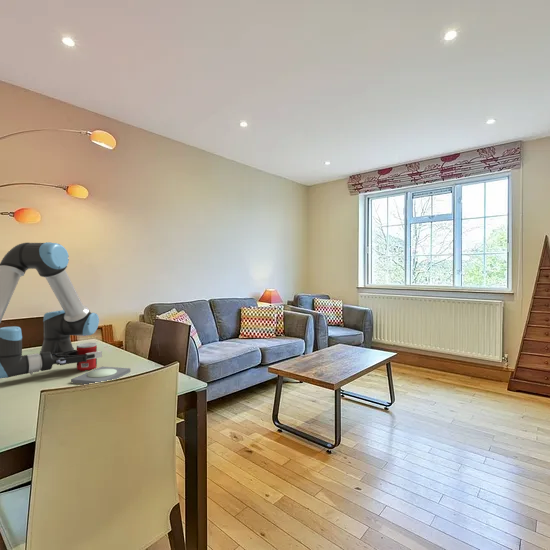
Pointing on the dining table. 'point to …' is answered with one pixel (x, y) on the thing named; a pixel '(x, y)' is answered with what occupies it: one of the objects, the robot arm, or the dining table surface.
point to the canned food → (85, 349)
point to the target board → (101, 375)
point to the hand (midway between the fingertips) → (98, 352)
